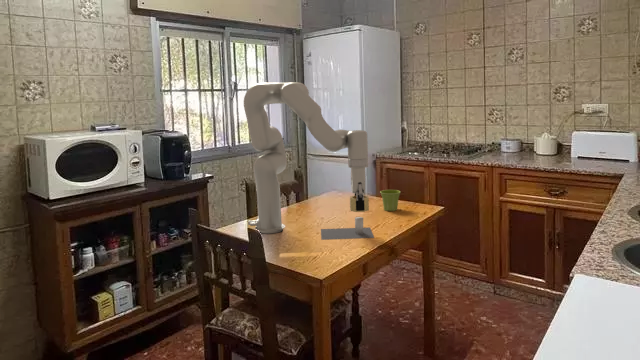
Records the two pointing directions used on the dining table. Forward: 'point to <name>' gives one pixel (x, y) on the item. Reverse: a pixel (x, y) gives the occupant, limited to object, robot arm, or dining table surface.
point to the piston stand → (348, 232)
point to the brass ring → (353, 203)
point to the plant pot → (390, 199)
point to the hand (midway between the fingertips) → (359, 207)
